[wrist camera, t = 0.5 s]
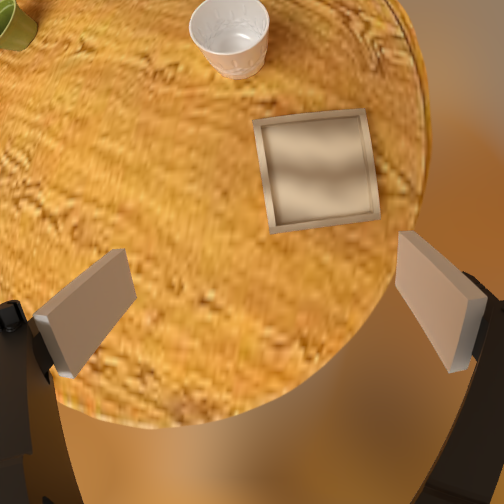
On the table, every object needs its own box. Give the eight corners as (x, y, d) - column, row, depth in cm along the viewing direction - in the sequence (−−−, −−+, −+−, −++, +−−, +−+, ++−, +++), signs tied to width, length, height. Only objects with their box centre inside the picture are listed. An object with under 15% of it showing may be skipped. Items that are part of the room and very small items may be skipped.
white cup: (213, 29, 34) (197, -9, 25) (274, 34, 34) (274, -5, 24) (202, 81, 36) (181, 52, 26) (265, 87, 36) (263, 58, 26)
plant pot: (40, 50, 36) (7, 35, 27) (3, 67, 36) (-28, 57, 28) (49, 6, 34) (21, -12, 25) (13, 24, 34) (-16, 11, 26)
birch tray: (253, 124, 37) (252, 120, 34) (359, 112, 36) (365, 108, 33) (270, 231, 40) (270, 234, 37) (374, 217, 38) (381, 219, 36)
